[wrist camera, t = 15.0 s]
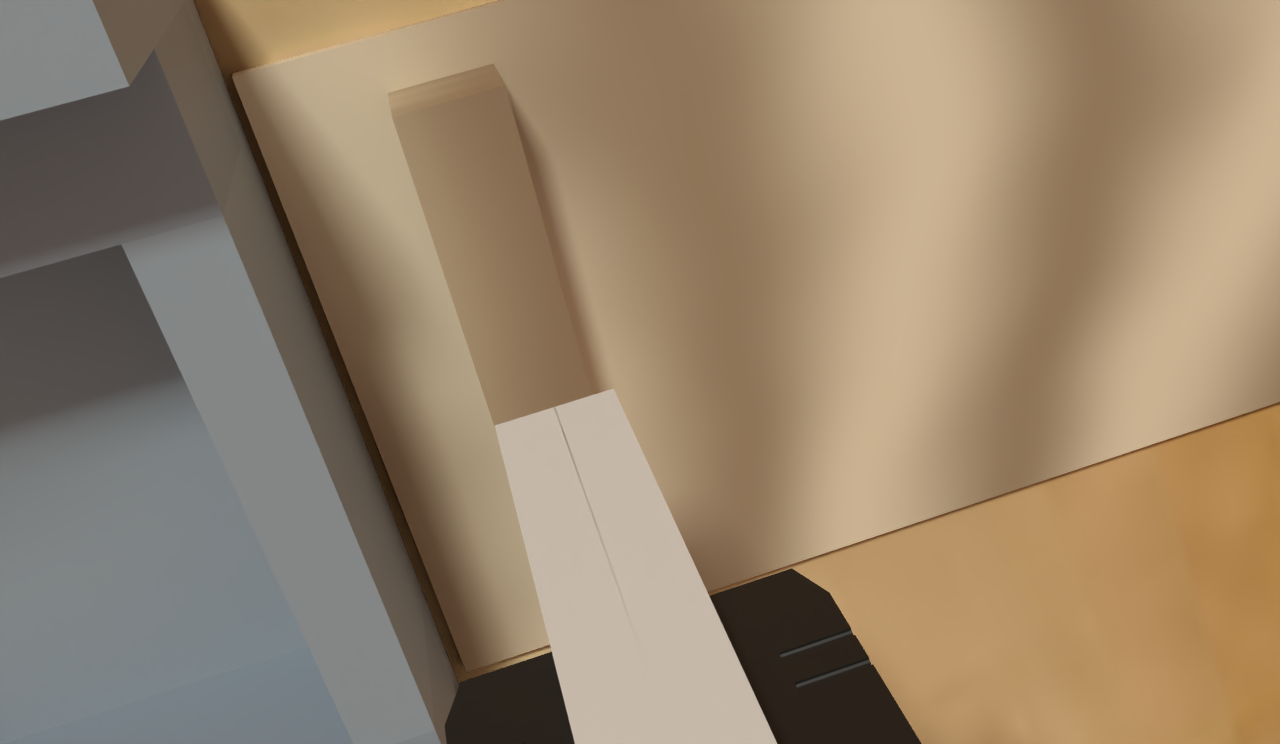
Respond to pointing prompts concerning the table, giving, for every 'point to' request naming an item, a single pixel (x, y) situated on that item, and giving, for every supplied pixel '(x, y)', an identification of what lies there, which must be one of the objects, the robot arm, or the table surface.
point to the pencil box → (177, 423)
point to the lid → (782, 254)
